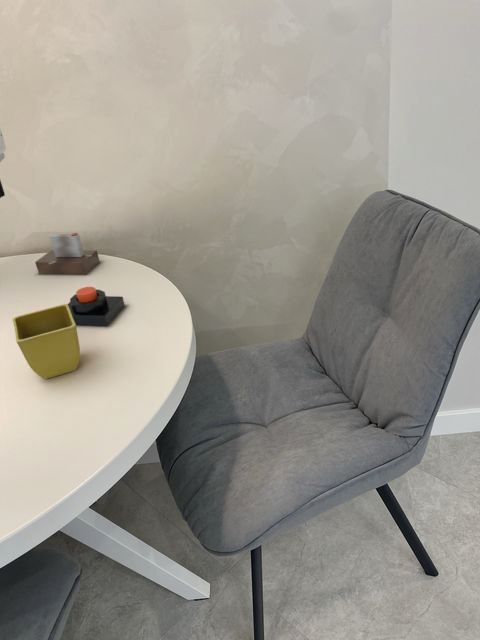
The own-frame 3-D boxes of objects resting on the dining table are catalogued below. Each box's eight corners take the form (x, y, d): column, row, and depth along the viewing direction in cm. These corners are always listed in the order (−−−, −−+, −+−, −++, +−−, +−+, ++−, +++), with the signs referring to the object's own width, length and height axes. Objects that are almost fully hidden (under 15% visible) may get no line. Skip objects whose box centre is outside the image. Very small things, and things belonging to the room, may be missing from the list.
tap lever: (55, 257, 125) (49, 235, 123) (59, 254, 127) (52, 232, 124) (81, 257, 124) (75, 235, 121) (84, 254, 125) (78, 232, 123)
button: (75, 303, 102) (72, 294, 102) (84, 294, 105) (81, 286, 105) (92, 303, 102) (90, 295, 101) (101, 294, 105) (98, 286, 104)
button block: (59, 325, 103) (53, 306, 101) (79, 305, 110) (74, 287, 108) (107, 326, 101) (102, 307, 99) (125, 306, 108) (120, 288, 106)
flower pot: (90, 373, 88) (75, 324, 83) (34, 390, 85) (15, 341, 80) (81, 348, 95) (67, 302, 90) (29, 364, 92) (11, 317, 87)
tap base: (36, 276, 125) (31, 263, 123) (57, 260, 132) (53, 247, 131) (85, 277, 122) (81, 263, 120) (103, 260, 130) (100, 247, 128)
